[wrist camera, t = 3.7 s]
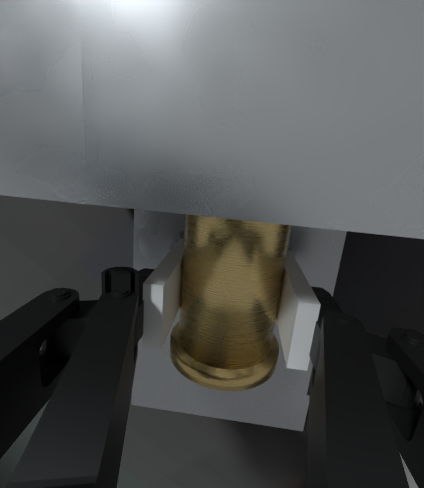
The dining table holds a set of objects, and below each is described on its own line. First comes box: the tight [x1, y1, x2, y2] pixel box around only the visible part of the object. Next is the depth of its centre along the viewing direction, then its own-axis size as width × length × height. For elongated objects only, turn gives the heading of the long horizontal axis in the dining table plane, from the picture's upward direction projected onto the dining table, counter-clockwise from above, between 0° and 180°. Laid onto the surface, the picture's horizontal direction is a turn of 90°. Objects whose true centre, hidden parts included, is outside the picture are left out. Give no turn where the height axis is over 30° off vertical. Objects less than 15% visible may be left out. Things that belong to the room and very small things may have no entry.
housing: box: [0, 0, 424, 431], centre depth 12 cm, size 16×28×11 cm, turn 175°
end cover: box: [170, 214, 291, 391], centre depth 13 cm, size 6×14×6 cm, turn 175°
